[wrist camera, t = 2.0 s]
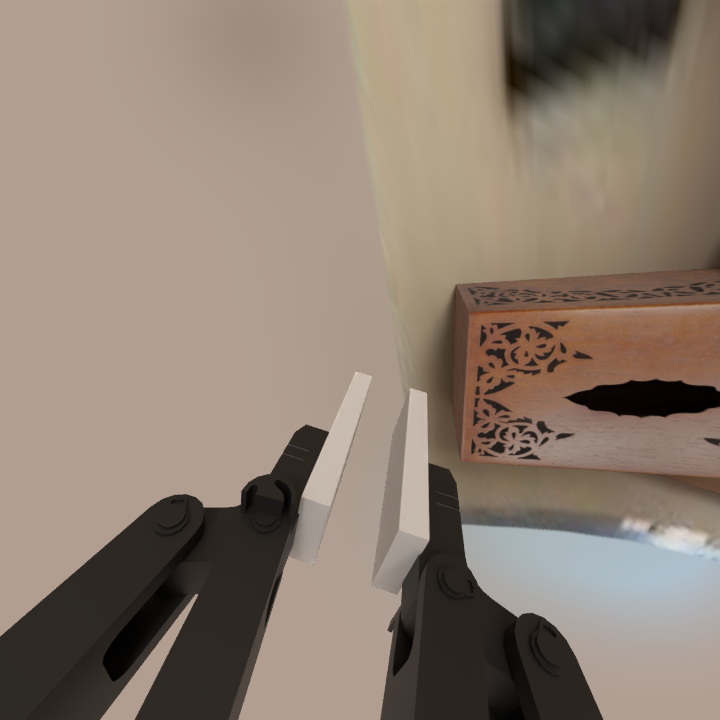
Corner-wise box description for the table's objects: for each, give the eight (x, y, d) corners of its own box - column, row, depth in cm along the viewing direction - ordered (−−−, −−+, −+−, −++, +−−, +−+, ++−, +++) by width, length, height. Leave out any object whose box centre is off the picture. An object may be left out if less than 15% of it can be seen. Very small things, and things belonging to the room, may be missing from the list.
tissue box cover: (451, 401, 36) (460, 461, 27) (455, 284, 30) (469, 312, 21) (709, 407, 31) (824, 484, 22) (778, 263, 24) (977, 290, 16)
